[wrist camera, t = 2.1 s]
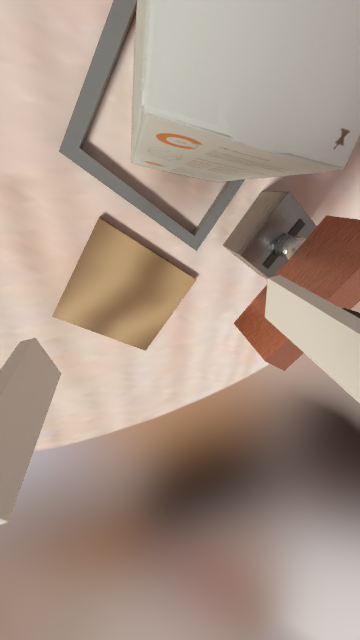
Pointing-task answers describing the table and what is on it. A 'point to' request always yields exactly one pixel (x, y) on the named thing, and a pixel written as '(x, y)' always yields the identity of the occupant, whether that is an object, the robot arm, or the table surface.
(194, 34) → the small box
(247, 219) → the key housing
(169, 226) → the seat rim
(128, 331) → the cork pad
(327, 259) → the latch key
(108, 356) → the table surface
